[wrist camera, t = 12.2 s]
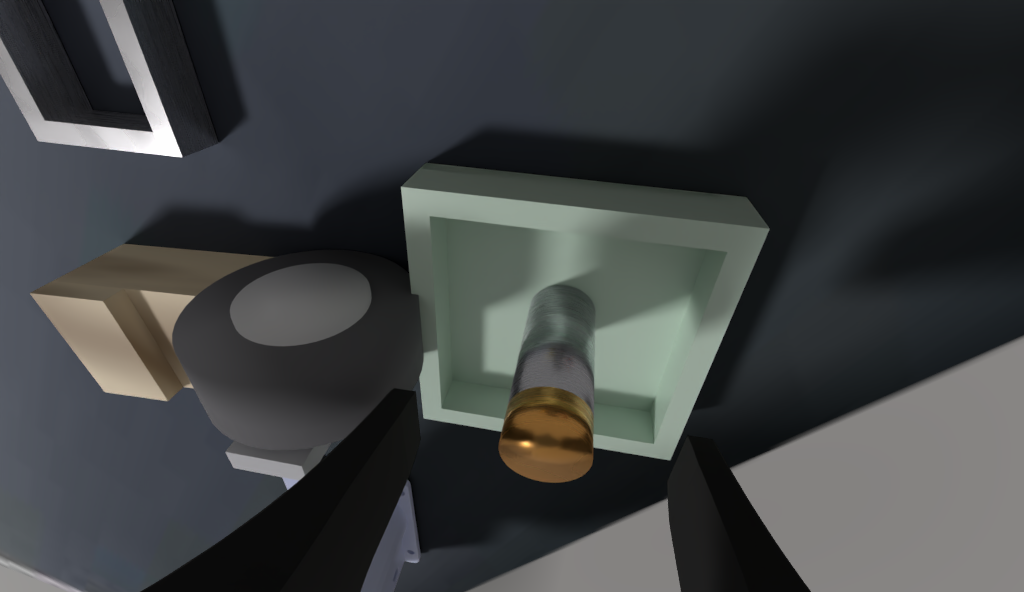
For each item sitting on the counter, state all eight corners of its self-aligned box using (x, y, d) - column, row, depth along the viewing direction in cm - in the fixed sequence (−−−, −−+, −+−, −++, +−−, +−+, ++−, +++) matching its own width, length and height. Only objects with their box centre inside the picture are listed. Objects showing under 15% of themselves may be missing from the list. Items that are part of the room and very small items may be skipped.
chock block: (311, 347, 21) (257, 413, 17) (179, 331, 21) (105, 392, 18) (278, 254, 18) (206, 312, 14) (129, 241, 19) (30, 293, 15)
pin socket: (218, 143, 15) (182, 157, 14) (84, 129, 16) (38, 141, 14) (155, -49, 12) (101, -54, 11) (-7, -58, 13) (-77, -65, 11)
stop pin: (593, 339, 16) (591, 487, 12) (530, 335, 17) (501, 476, 12) (597, 286, 15) (595, 429, 10) (528, 283, 15) (494, 419, 11)
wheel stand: (449, 357, 19) (384, 512, 13) (299, 334, 20) (176, 471, 14) (444, 255, 16) (359, 398, 10) (268, 232, 17) (99, 354, 11)
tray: (663, 416, 19) (670, 460, 17) (439, 380, 20) (423, 418, 18) (746, 196, 13) (769, 229, 11) (426, 162, 14) (400, 186, 12)
